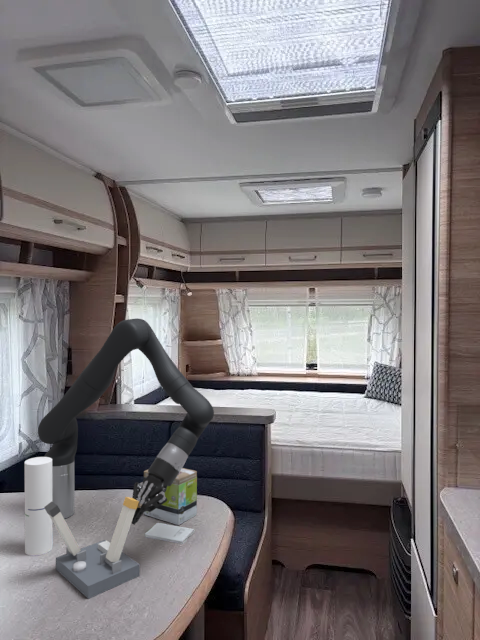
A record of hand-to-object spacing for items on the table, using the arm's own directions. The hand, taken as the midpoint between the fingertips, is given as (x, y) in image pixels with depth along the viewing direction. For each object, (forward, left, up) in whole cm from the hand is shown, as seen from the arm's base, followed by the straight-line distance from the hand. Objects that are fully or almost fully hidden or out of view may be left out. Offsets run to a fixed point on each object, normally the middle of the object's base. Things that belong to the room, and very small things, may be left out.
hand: (130, 522), depth 126 cm
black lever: (-11, -10, -9) cm, 17 cm away
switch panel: (-5, -7, -13) cm, 15 cm away
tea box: (-20, +27, -13) cm, 36 cm away
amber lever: (0, -6, -9) cm, 10 cm away
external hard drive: (-9, +19, -13) cm, 25 cm away
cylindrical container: (-27, -13, -13) cm, 32 cm away
